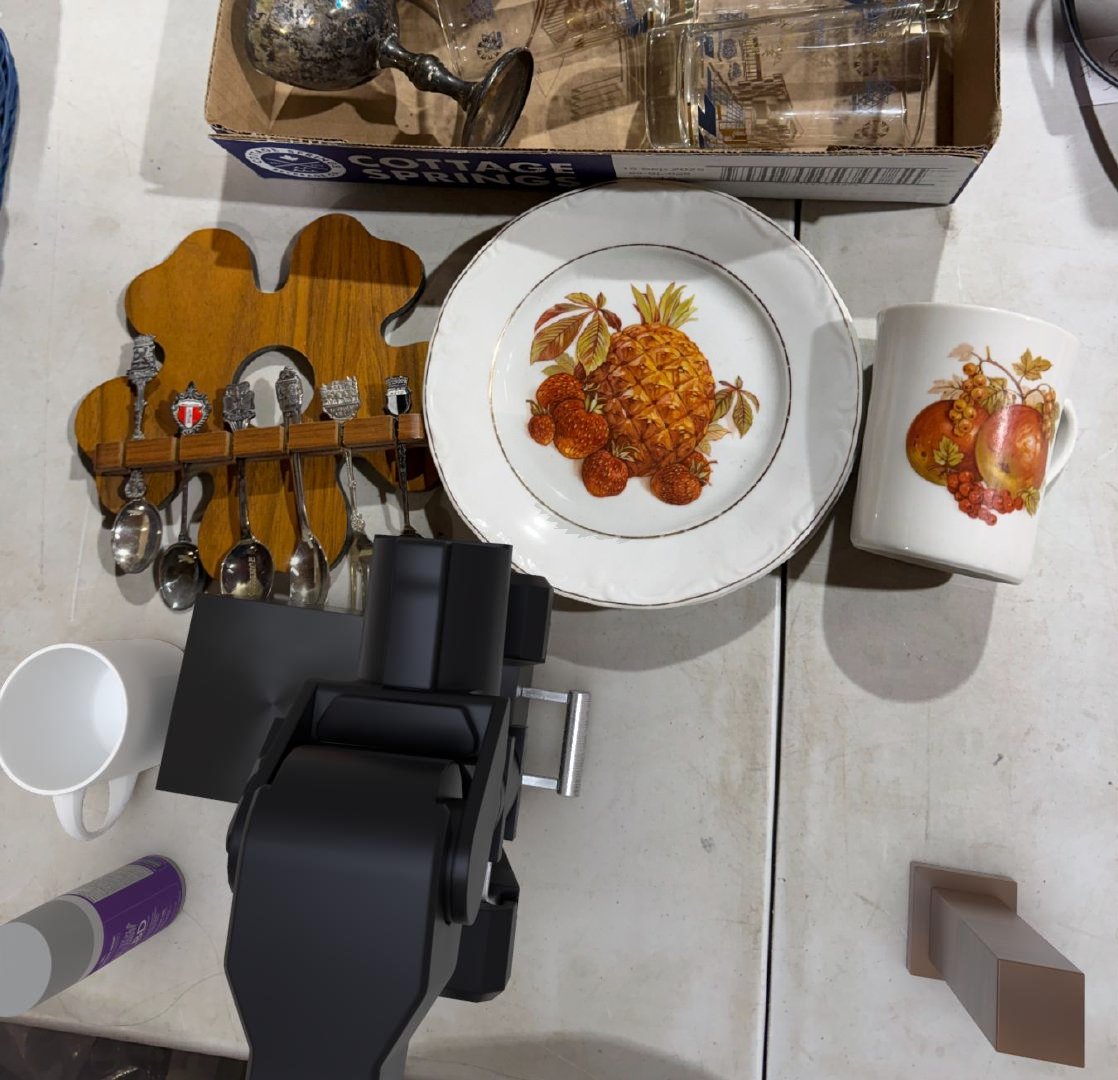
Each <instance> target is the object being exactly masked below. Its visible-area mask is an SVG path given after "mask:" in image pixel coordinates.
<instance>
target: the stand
mask: <svg viewBox="0 0 1118 1080" xmlns="http://www.w3.org/2000/svg"><path fill="white" fill-rule="evenodd" d="M909 869H910V870H909V890H908V891H909V892H908V916H907V917H908V919H907V940H906V943H907V945H906V966H905V967H906V971H908V973H909V974H910V976H913V977H914V976H915V977H920V978H925V979H931V980H936V981H942V982H945V984H947V986H948V988H949V989H950V990H951V992H952V993H953V994H954V996H955V997H956V998H957V1000H958V1001H959V1002H960V1004H961V1005H962V1007H963V1008H964V1010H965V1011H966V1012H967V1014H968V1015H969V1017H970V1018H971V1019H972V1021H973V1022H974V1023H975V1024H976V1026H977V1027H978V1029H979V1030H980V1031H981V1033H982V1034H983V1035H984V1037H985V1038H986V1039H987V1041H988V1042H989V1044H990V1045H991V1046H992V1048H993V1049H994V1051H995V1052H996V1053H998V1054H1004V1055H1011V1056H1015V1057H1020V1058H1026V1059H1031V1060H1036V1061H1043V1062H1047V1063H1052V1064H1059V1065H1063V1066H1068V1067H1074V1068H1080V1069H1085V1067H1086V975H1085V973H1084V972H1083V971H1082V970H1081V969H1080V968H1079V967H1078V966H1077V965H1076V964H1074V963H1072V961H1071V960H1069V959H1068V958H1067V957H1066V956H1065V955H1064V954H1063V953H1061V952H1060V951H1059V949H1057V948H1056V947H1055V946H1054V945H1053V944H1051V943H1050V942H1049V941H1048V940H1047V939H1046V938H1045V937H1044V936H1043V935H1042V934H1040V933H1039V932H1038V931H1037V930H1036V929H1035V928H1034V927H1033V926H1031V925H1030V924H1029V923H1028V922H1027V921H1026V920H1024V918H1023V917H1021V916H1020V915H1019V914H1018V882H1017V881H1016V880H1014V879H1013V878H1012V877H1010V876H1004V875H1003V876H1002V875H996V874H990V873H984V872H978V871H972V870H967V869H960V868H954V867H948V866H941V865H936V864H931V863H924V862H918V861H910V868H909Z"/></svg>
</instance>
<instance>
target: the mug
mask: <svg viewBox="0 0 1118 1080" xmlns="http://www.w3.org/2000/svg"><path fill="white" fill-rule="evenodd" d="M183 655H184V651H182V650H181V649H180V648H179V647H177V646H175V645H174V644H171V643H168V642H167V641H164V640H159V639H155V638H154V639H153V638H129V639H116V640H115V639H112V640H95V641H78V642H77V641H76V642H61V643H55V644H52V645H49V646H45V647H43V648H40V649H39V650H37V651H35V652H33V653H32V654H30V655H29V656H27V657H26V658H25V659H24V660H22V661H21V662H20V663H19V664H18V665H17V666H16V667H15V668H14V669H13V670H12V671H11V673H10V674H9V675H8V677H7V678H6V680H5V682H4V683H3V685H2V687H1V688H0V766H1V768H2V770H3V771H4V773H5V774H6V775H7V776H8V777H9V779H11V780H12V781H13V783H15V784H16V785H18V786H19V787H20V788H22V789H24V790H27V791H28V792H31V793H34V794H37V795H40V796H41V795H42V796H49V797H50V796H51V798H52V801H53V805H54V809H55V812H56V815H57V818H58V820H59V823H60V824H61V826H62V828H63V830H64V831H65V832H66V834H67V835H68V836H70V837H71V838H72V839H74V840H77V841H79V842H90V841H92V840H95V839H96V838H98V837H100V836H102V835H104V834H105V833H106V832H107V831H108V830H110V829H111V828H112V827H113V826H114V825H115V823H116V822H117V821H118V820H119V818H120V817H121V815H122V814H123V812H124V811H125V809H126V807H127V806H128V804H129V802H130V799H131V796H132V794H133V792H134V789H135V786H136V783H137V780H138V776H139V774H140V773H141V772H143V771H147V770H149V769H151V768H154V767H156V766H158V765H160V764H161V759H162V754H163V750H164V745H165V740H166V736H167V731H168V726H169V721H170V717H171V712H172V707H173V703H174V698H175V693H176V688H177V684H178V679H179V674H180V670H181V665H182V660H183ZM106 782H107V784H108V791H109V793H108V795H109V802H108V809H107V813H106V815H105V818H104V820H103V822H102V824H101V825H100V827H98V828H97V829H96V830H94V831H88V829H86V827H85V823H84V817H83V811H84V810H83V809H84V802H85V796H86V792H87V790H88V788H90V787H94V786H96V785H99V784H103V783H106Z"/></svg>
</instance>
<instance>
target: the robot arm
mask: <svg viewBox="0 0 1118 1080" xmlns="http://www.w3.org/2000/svg"><path fill="white" fill-rule="evenodd" d="M372 540H373V541H372V546H371V547H372V548H371V555H370V565H369V572H368V581H367V588H366V589H367V590H366V597H365V605H364V611H365V612H364V620H363V628H362V636H361V644H360V653H359V661H358V669H357V677H356V680H354V681H349V682H345V681H334V680H324V679H313V678H307V679H306V681H305V683H304V685H303V686H302V688H301V690H300V692H299V694H298V696H297V698H296V700H295V702H294V703H292V704H291V705H290V706H289V707H288V708H287V710H286V712H285V714H284V717H283V718H279V717H275V719H274V721H273V724H272V726H271V728H270V731H269V733H268V735H267V738H266V740H265V742H264V745H263V747H262V749H261V752H260V754H259V756H258V759H257V761H256V763H255V766H254V768H253V770H252V773H251V775H250V777H249V780H248V782H247V784H246V787H245V789H244V791H243V794H242V796H241V798H240V801H239V803H238V804H236V805H237V806H236V808H235V809H234V813H233V814H232V817H231V820H230V822H229V824H228V828H227V831H226V835H225V851H226V853H227V861H226V871H227V874H226V875H227V883H228V886H229V889H230V892H231V893H232V898H231V905H230V912H229V919H228V925H227V934H226V940H225V946H224V955H223V970H224V975H225V978H226V981H227V984H228V988H229V991H230V994H231V997H232V1000H233V1003H234V1006H235V1010H236V1012H237V1016H238V1019H239V1021H240V1025H241V1028H242V1031H243V1034H244V1037H245V1039H246V1043H247V1046H248V1057H247V1065H246V1072H245V1080H404V1076H405V1069H406V1063H407V1057H408V1050H409V1044H410V1041H411V1039H412V1037H413V1036H414V1034H415V1033H416V1031H417V1030H418V1028H419V1027H420V1025H421V1023H422V1022H423V1021H424V1020H425V1017H426V1016H427V1015H428V1013H429V1011H430V1010H431V1008H432V1007H433V1005H434V1004H435V1002H436V1001H437V999H438V998H439V997H440V998H446V999H449V1000H450V999H451V1000H455V1001H462V1002H467V1003H474V1004H479V1003H485V1002H490V1001H493V1000H494V999H495V998H497V997H498V996H499V995H501V994H502V993H503V992H504V991H505V990H506V988H507V985H508V983H509V981H510V979H511V976H512V969H513V968H512V967H513V960H514V959H513V958H514V950H515V941H516V931H517V924H518V909H519V902H520V901H519V900H520V892H521V886H520V884H519V882H518V879H517V877H516V874H515V872H514V869H513V867H512V865H511V862H510V860H509V857H508V855H507V853H506V850H505V848H504V846H503V845H504V841H506V842H513V841H514V840H515V839H516V837H517V831H518V820H519V813H520V803H521V796H522V787H523V785H522V779H523V773H524V770H525V769H524V768H525V760H526V752H527V742H528V735H529V726H528V725H526V726H523V725H516V724H509V715H510V697H502V696H500V686H501V675H502V665H505V666H513V667H526V666H531V665H534V666H536V665H541V664H542V665H543V664H545V663H546V660H547V651H548V644H549V640H550V639H549V637H550V629H551V622H552V621H551V619H552V612H553V611H552V610H553V602H554V594H555V593H554V592H555V588H554V586H552V584H551V583H550V582H549V580H548V579H547V578H546V577H545V576H543V575H539V574H538V575H537V574H529V573H522V572H515V571H514V572H512V561H513V551H514V550H513V549H514V545H513V544H509V543H499V542H498V543H497V542H488V541H487V542H486V541H471V540H459V539H447V538H432V537H419V536H407V535H406V536H405V535H393V534H381V533H374V536H373V539H372Z"/></svg>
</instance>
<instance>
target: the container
mask: <svg viewBox="0 0 1118 1080" xmlns="http://www.w3.org/2000/svg"><path fill="white" fill-rule="evenodd" d="M185 881H186V880H185V877H184V875H183V873H182V870H181V869H180V868H179V866H178V864H176V863H175V861H173V860H172V859H170V858H168V857H166V856H164V855H161V854H160V855H159V854H150V855H146V856H143V857H141V858H139V859H136V860H134V861H132V862H130V863H128V864H125V865H122V866H121V867H118V868H117V869H115V870H113V871H110V872H108V873H106V874H104V875H102V876H100V877H97V878H95V879H92V880H90V881H89V882H86V883H85V884H82V885H80V886H77V887H75V888H73V889H71V890H69V891H67V892H65V893H62V894H61V895H58V896H56V897H54V898H51V899H50V900H47V901H46V902H44V903H43V904H41V905H38V906H36V907H34V908H32V909H31V910H29V911H27V912H24V913H23V914H21V915H18V916H17V917H15V918H13V919H11V920H9V921H8V922H5V923H3V924H1V925H0V1017H1V1018H14V1017H17V1016H20V1015H23V1014H25V1013H27V1012H28V1011H30V1010H32V1009H34V1008H36V1007H37V1006H39V1005H40V1004H42V1003H44V1002H46V1001H48V1000H49V999H51V998H53V997H55V996H56V995H58V994H60V993H62V992H63V991H65V990H67V989H69V988H70V987H72V986H74V985H75V984H78V983H79V982H82V981H83V980H85V979H87V978H88V977H89V976H91V975H92V974H94V973H96V972H98V971H99V970H101V969H102V968H103V967H105V966H107V965H108V964H111V963H112V962H114V961H115V960H117V959H118V958H120V957H121V956H123V955H125V954H126V953H128V952H129V951H131V950H133V949H134V948H136V947H137V946H139V945H140V944H141V945H142V943H144V942H146V941H147V940H149V939H150V938H153V936H155V935H157V934H158V933H160V932H162V931H163V930H165V929H167V927H169V926H170V925H171V924H172V923H174V922H175V920H176V919H177V918H178V916H179V915H180V914H181V911H182V909H183V907H184V904H185V899H186V893H187V891H186V882H185Z"/></svg>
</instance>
